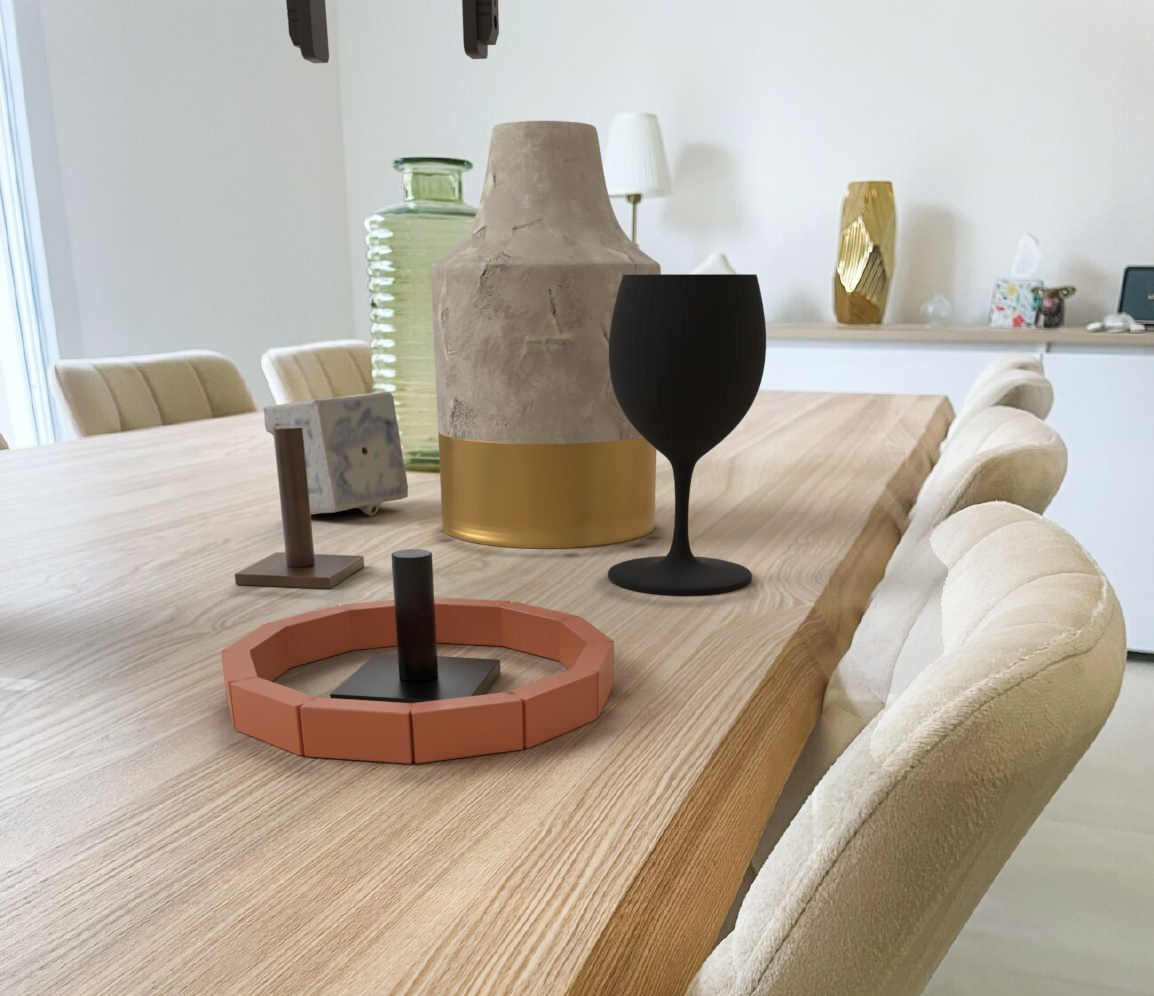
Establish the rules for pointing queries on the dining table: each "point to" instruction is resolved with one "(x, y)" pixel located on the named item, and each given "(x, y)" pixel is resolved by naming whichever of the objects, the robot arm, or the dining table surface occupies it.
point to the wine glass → (685, 397)
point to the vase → (538, 354)
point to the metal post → (417, 648)
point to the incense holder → (347, 450)
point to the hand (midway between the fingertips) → (395, 59)
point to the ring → (423, 724)
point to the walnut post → (296, 528)
